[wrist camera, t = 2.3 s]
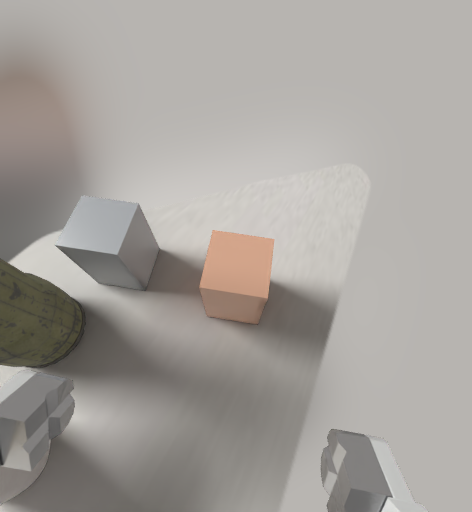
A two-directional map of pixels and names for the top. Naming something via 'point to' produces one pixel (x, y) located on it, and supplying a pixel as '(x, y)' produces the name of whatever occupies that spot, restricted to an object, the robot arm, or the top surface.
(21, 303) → the thermos
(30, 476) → the coffee cup
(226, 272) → the tan block
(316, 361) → the top surface
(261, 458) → the top surface
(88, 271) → the light gray boxy block
